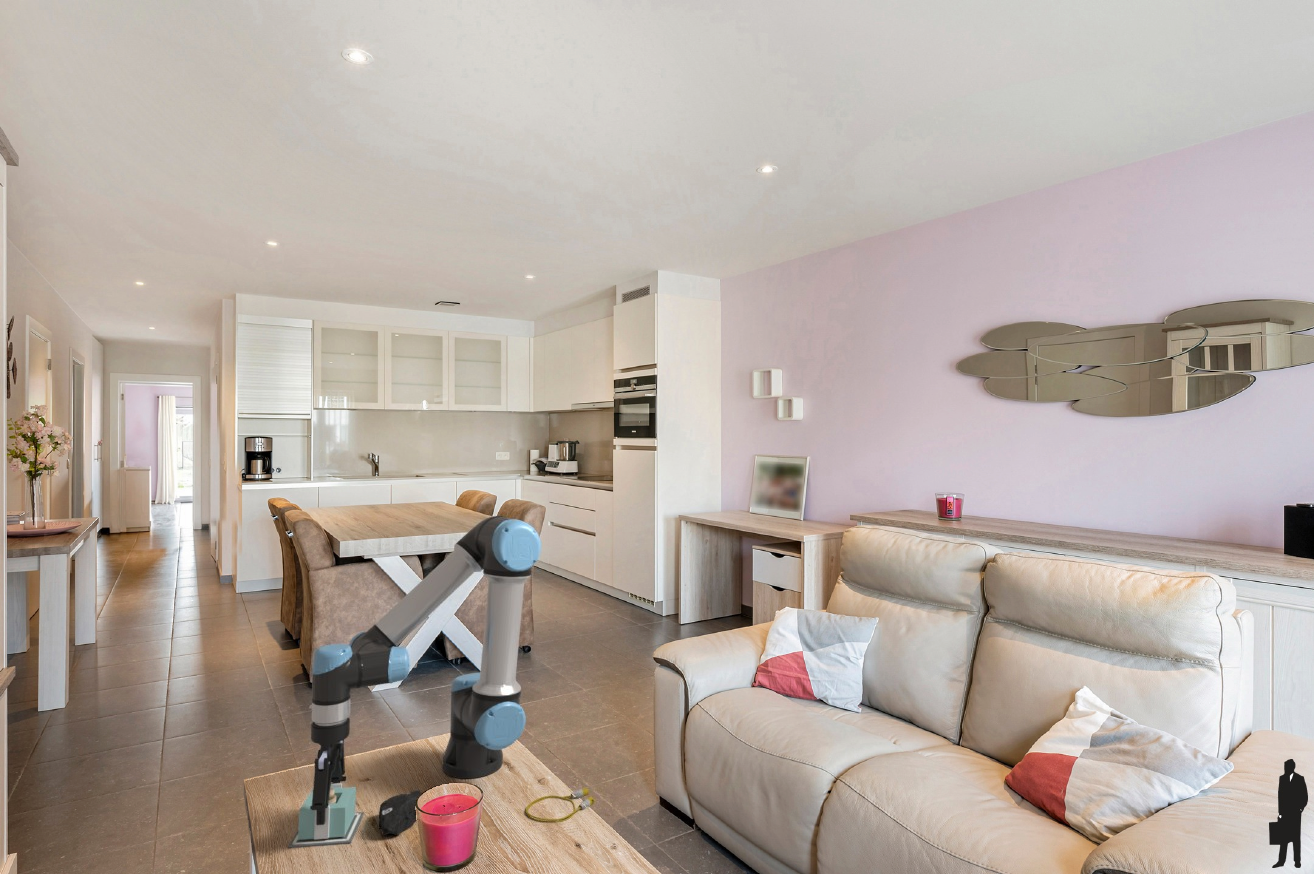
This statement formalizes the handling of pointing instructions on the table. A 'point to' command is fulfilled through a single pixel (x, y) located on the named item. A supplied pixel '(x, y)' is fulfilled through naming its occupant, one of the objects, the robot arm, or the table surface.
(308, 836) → the block with square hole
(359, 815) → the mat
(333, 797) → the post
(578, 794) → the extension cord
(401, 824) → the rock
